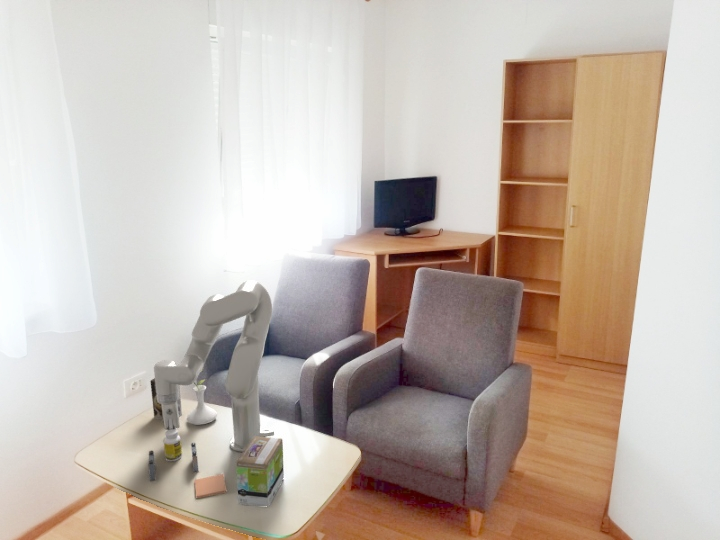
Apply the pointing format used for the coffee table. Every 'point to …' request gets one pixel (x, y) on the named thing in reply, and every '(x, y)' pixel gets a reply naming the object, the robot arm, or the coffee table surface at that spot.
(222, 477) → the coaster
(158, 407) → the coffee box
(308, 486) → the coffee table surface
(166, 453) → the supplement bottle
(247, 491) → the tea box
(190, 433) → the coffee table surface
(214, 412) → the flower in vase
